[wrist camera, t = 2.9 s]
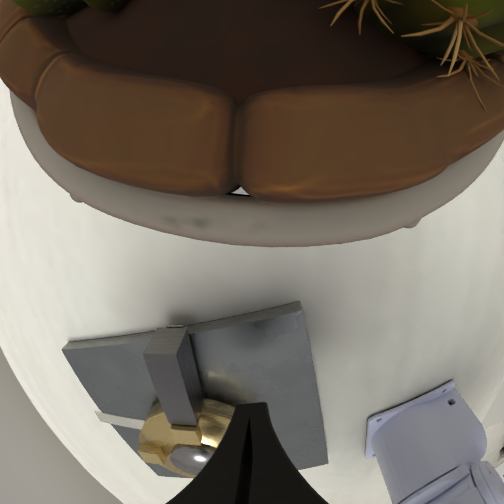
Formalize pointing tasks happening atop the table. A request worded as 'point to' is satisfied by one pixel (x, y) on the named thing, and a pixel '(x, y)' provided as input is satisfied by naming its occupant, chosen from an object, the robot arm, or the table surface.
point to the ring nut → (179, 408)
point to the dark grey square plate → (216, 377)
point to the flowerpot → (259, 110)
